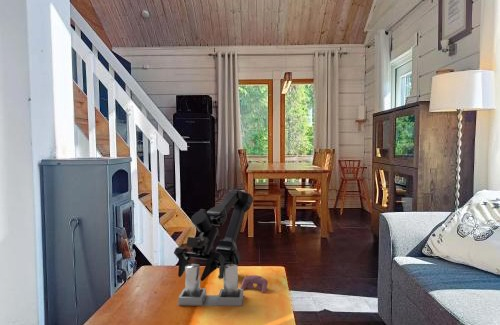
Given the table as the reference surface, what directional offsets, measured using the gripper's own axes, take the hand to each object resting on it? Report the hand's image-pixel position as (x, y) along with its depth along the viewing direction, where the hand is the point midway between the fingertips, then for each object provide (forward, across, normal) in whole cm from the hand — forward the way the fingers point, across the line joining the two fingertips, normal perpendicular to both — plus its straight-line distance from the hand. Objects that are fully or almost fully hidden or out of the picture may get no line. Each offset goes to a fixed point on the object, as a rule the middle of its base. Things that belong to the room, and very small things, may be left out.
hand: (190, 278), depth 124 cm
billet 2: (+1, +12, +10) cm, 16 cm away
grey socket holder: (+4, +6, +9) cm, 12 cm away
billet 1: (+5, 0, +7) cm, 8 cm away
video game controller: (-7, +16, +20) cm, 26 cm away
